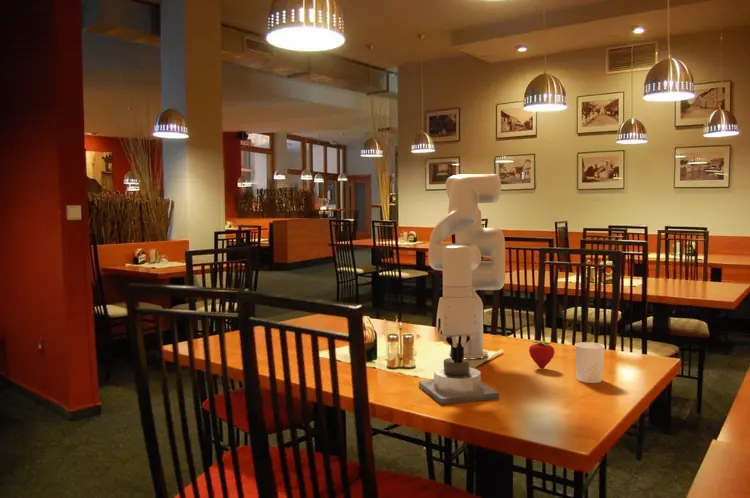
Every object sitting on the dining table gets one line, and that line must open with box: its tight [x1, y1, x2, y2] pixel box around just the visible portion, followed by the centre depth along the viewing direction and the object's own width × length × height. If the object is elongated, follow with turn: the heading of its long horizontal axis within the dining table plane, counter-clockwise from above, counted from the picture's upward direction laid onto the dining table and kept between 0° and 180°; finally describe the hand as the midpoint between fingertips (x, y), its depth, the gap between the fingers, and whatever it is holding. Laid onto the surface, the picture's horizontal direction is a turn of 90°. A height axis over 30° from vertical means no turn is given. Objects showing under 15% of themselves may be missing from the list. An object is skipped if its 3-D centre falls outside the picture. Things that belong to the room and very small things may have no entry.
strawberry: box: [528, 336, 556, 369], centre depth 181 cm, size 6×8×10 cm
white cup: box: [574, 341, 605, 384], centre depth 168 cm, size 8×8×10 cm
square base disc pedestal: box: [418, 366, 500, 405], centre depth 158 cm, size 16×16×6 cm
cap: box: [443, 357, 471, 375], centre depth 158 cm, size 7×7×7 cm
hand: (457, 361), depth 158 cm, fingers closed
